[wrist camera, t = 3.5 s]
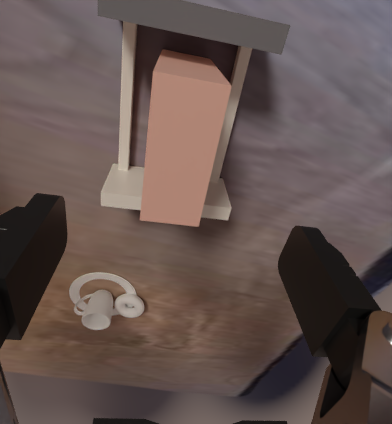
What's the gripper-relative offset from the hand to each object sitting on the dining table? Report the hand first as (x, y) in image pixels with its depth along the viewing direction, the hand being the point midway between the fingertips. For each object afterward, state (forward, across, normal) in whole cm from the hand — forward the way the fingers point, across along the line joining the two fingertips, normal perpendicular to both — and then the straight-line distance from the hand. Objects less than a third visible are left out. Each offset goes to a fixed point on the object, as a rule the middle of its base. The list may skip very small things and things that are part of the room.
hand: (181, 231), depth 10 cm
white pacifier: (+16, +5, +26) cm, 31 cm away
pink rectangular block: (+16, 0, 0) cm, 16 cm away
